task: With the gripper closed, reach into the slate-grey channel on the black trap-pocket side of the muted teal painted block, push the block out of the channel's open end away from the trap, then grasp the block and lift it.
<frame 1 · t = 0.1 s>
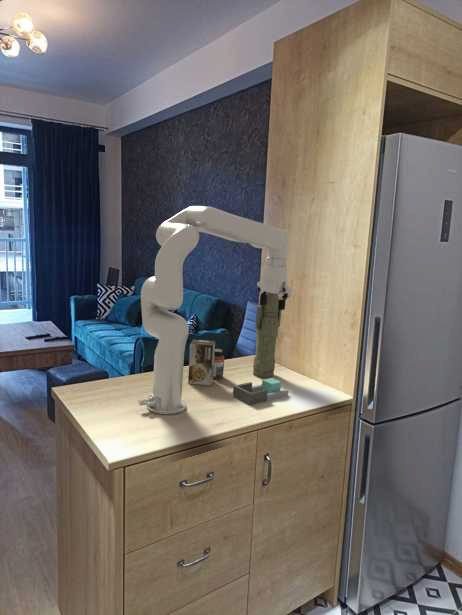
hand: (271, 307, 172), 31 cm above the countertop, tool pointing down, fingers open, 9 cm apart
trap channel: (269, 393, 169), on the countertop
coffee box: (200, 382, 175), on the countertop
supplement bottle: (215, 377, 182), on the countertop
thermos: (263, 375, 190), on the countertop
teal block: (270, 393, 169), on the countertop
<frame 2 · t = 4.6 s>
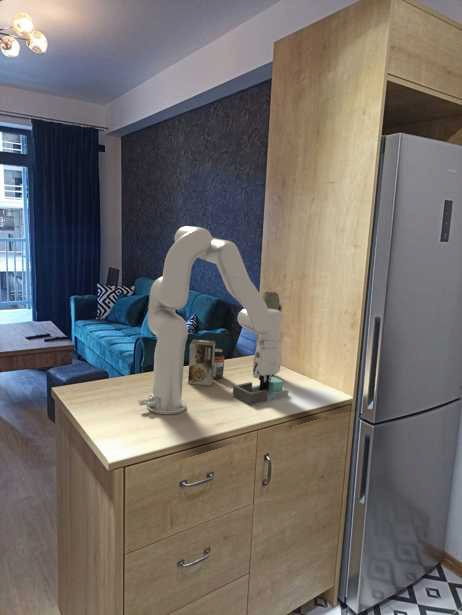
hand: (263, 391, 167), 2 cm above the countertop, tool pointing down, fingers closed
teal block: (272, 392, 170), on the countertop, touching gripper
everything else where it was.
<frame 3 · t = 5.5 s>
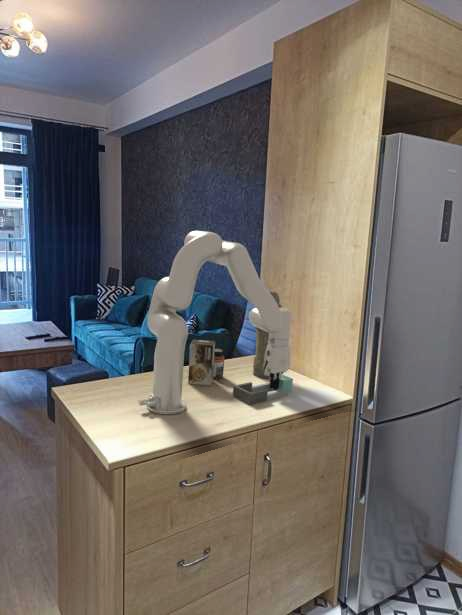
hand: (273, 388, 170), 2 cm above the countertop, tool pointing down, fingers closed
teal block: (282, 390, 173), on the countertop, touching gripper
everything else where it was.
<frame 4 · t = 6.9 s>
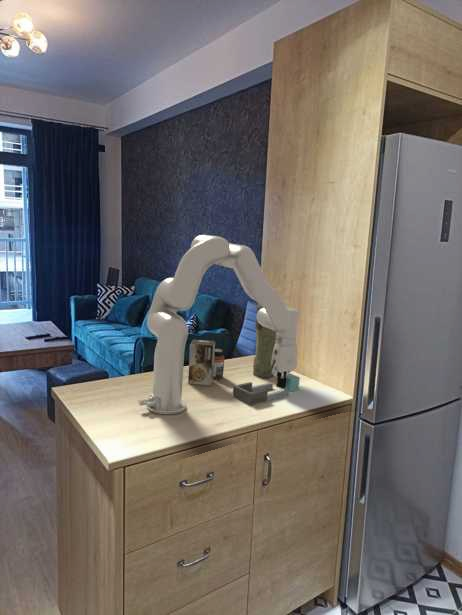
hand: (280, 387, 172), 1 cm above the countertop, tool pointing down, fingers closed
teal block: (289, 388, 176), on the countertop, touching gripper
everything else where it was.
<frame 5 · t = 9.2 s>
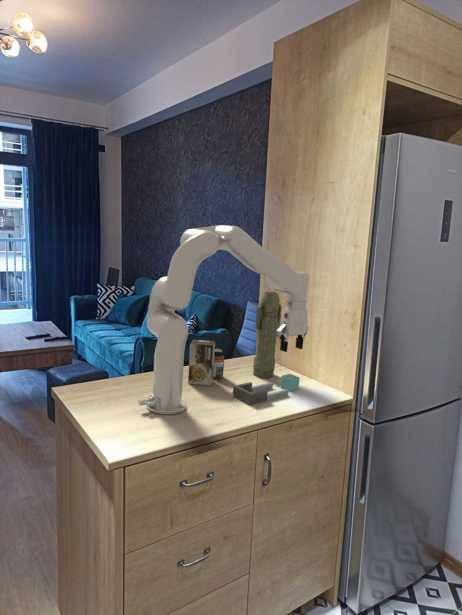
hand: (291, 349, 172), 16 cm above the countertop, tool pointing down, fingers open, 8 cm apart
teal block: (289, 388, 176), on the countertop
everything else where it was.
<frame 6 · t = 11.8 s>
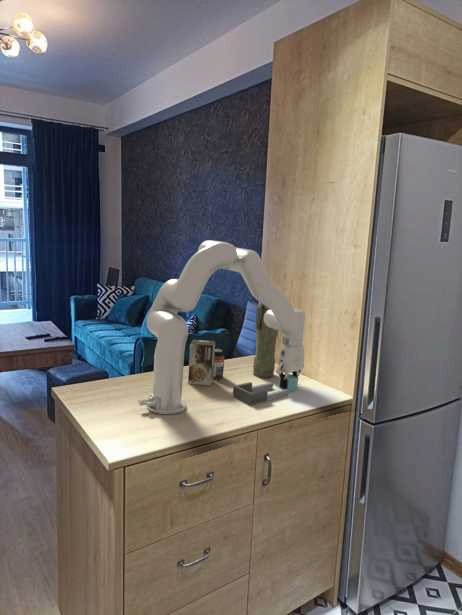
hand: (288, 386, 175), 1 cm above the countertop, tool pointing down, fingers closed on teal block, 5 cm apart
teal block: (287, 388, 175), on the countertop, touching gripper
everything else where it was.
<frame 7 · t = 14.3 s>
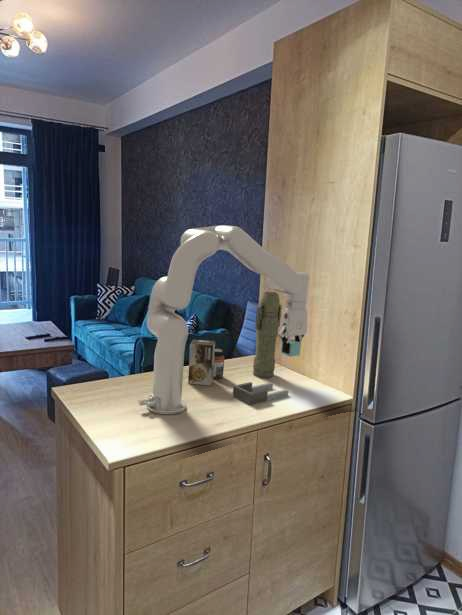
hand: (290, 351, 172), 15 cm above the countertop, tool pointing down, fingers closed on teal block, 5 cm apart
teal block: (290, 354, 172), point 14 cm above the countertop, touching gripper
everything else where it was.
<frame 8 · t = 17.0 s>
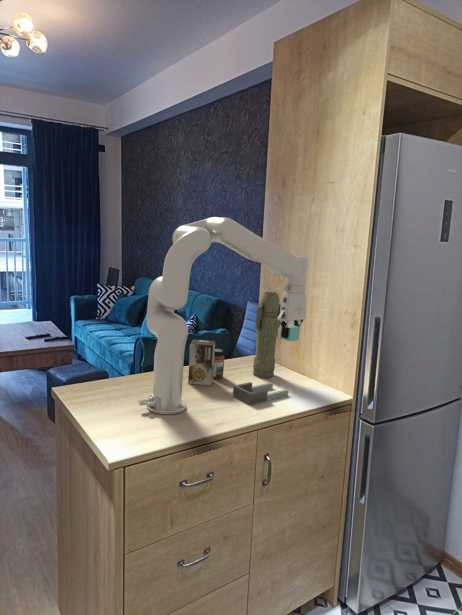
hand: (289, 336, 170), 21 cm above the countertop, tool pointing down, fingers closed on teal block, 5 cm apart
teal block: (289, 339, 170), point 20 cm above the countertop, touching gripper
everything else where it was.
at the end: the gripper is holding teal block; teal block inside the target area (1.6 cm from its centre), point 20.2 cm above the countertop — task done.
